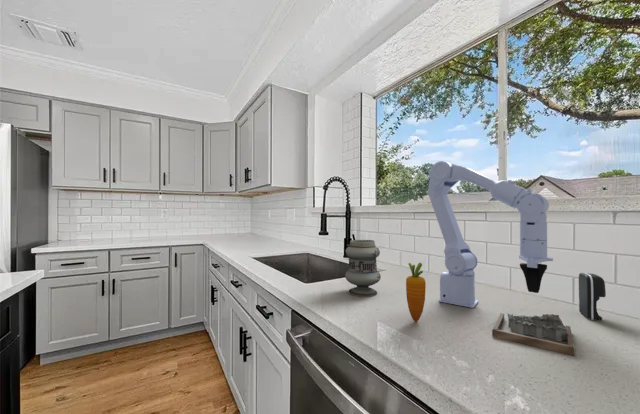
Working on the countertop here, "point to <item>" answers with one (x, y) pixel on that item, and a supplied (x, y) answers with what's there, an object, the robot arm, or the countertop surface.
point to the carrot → (415, 292)
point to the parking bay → (534, 339)
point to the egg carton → (538, 326)
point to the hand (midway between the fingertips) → (533, 291)
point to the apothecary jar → (362, 267)
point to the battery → (590, 294)
